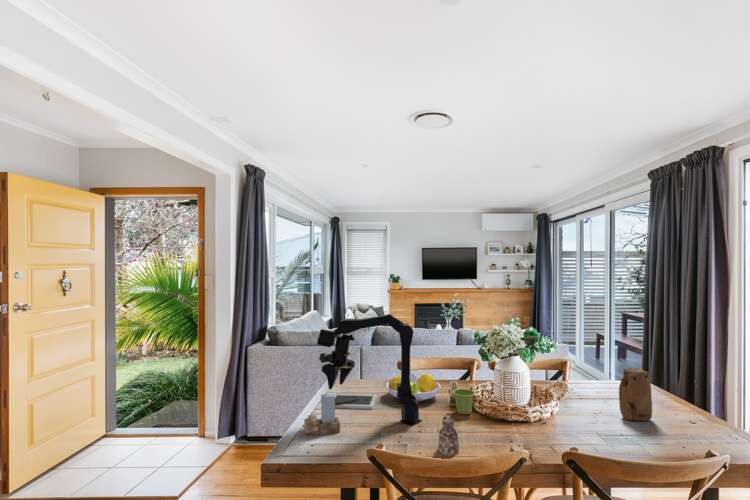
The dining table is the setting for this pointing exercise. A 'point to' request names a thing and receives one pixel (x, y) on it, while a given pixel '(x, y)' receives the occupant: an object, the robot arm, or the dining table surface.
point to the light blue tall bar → (327, 408)
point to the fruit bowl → (417, 387)
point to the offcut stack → (311, 424)
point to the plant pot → (464, 400)
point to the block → (635, 395)
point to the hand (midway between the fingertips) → (335, 386)
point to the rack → (326, 428)
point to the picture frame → (355, 401)
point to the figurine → (448, 437)
